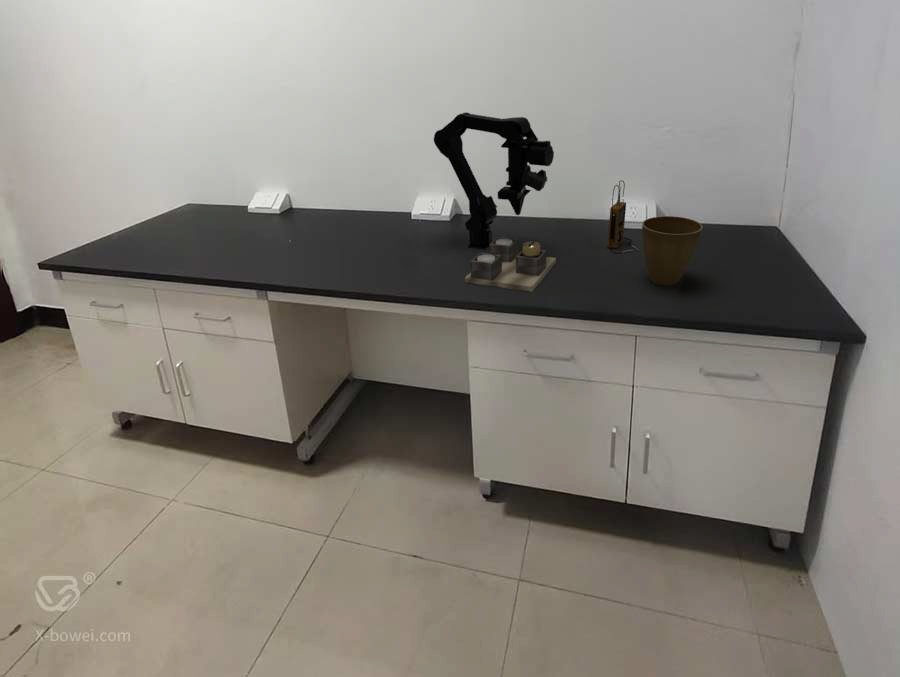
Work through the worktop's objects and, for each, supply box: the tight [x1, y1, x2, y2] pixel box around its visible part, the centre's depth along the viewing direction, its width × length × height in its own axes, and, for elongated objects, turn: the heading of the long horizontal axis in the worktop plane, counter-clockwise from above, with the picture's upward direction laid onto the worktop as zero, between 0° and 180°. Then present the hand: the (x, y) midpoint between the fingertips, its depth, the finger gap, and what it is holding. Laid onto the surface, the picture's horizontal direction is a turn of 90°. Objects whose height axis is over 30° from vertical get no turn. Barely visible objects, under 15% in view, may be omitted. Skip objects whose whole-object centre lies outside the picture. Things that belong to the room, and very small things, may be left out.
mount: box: [464, 236, 557, 293], centre depth 173 cm, size 20×22×6 cm
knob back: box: [496, 239, 512, 246], centre depth 180 cm, size 5×5×5 cm
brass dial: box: [521, 241, 541, 258], centre depth 169 cm, size 5×5×5 cm
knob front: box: [477, 255, 495, 263], centre depth 169 cm, size 5×5×5 cm
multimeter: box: [607, 180, 640, 255], centre depth 183 cm, size 15×10×20 cm
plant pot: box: [641, 215, 703, 286], centre depth 160 cm, size 15×15×16 cm
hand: (518, 214), depth 183 cm, fingers closed
